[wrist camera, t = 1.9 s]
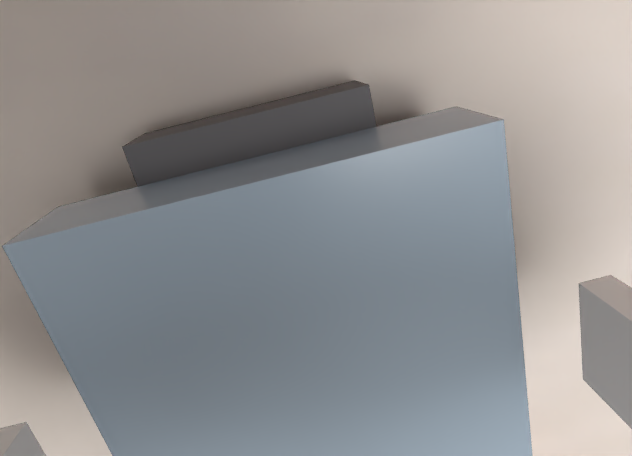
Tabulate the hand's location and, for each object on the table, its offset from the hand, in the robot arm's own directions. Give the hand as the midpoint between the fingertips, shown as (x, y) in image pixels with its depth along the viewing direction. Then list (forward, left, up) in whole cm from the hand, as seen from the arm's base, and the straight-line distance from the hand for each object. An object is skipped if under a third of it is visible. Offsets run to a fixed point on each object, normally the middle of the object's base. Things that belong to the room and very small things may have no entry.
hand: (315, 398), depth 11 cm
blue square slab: (0, 0, -2) cm, 2 cm away
